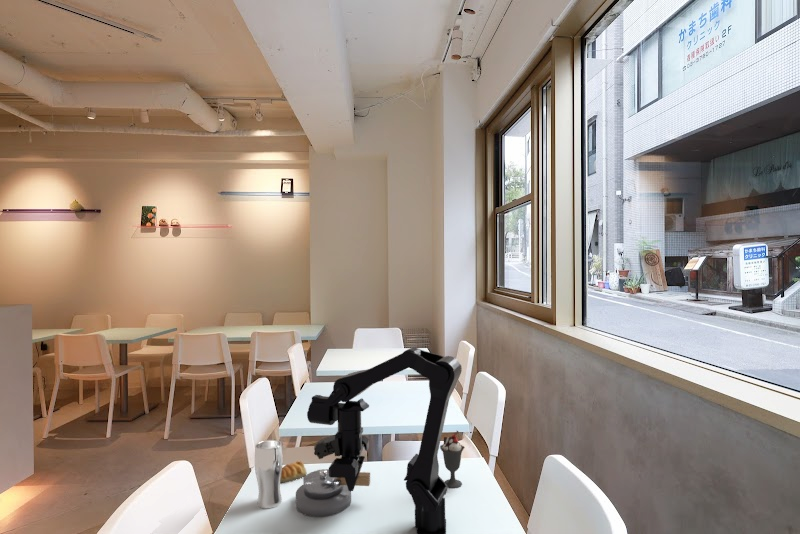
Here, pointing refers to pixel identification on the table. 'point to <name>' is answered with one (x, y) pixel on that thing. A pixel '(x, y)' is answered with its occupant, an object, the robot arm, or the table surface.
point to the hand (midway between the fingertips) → (351, 490)
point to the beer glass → (268, 472)
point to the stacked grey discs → (322, 503)
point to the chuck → (328, 484)
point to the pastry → (293, 472)
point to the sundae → (452, 458)
